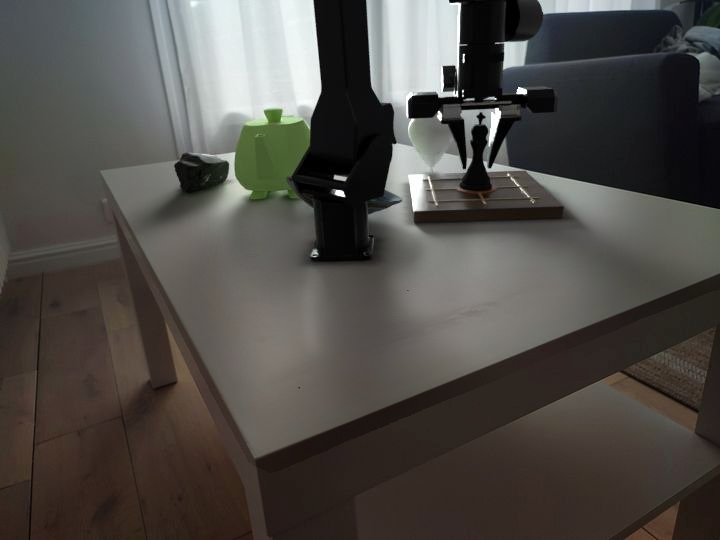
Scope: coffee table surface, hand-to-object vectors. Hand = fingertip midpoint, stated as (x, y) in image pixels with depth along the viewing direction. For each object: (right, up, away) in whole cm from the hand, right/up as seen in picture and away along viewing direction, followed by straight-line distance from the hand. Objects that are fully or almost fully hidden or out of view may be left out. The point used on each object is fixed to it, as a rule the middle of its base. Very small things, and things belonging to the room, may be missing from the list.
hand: (476, 168), depth 72 cm
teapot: (-28, -2, +11) cm, 30 cm away
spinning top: (-4, +2, +18) cm, 18 cm away
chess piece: (0, -3, +1) cm, 3 cm away
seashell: (-18, -7, -3) cm, 20 cm away
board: (0, -4, +2) cm, 4 cm away
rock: (-42, 0, +18) cm, 45 cm away
